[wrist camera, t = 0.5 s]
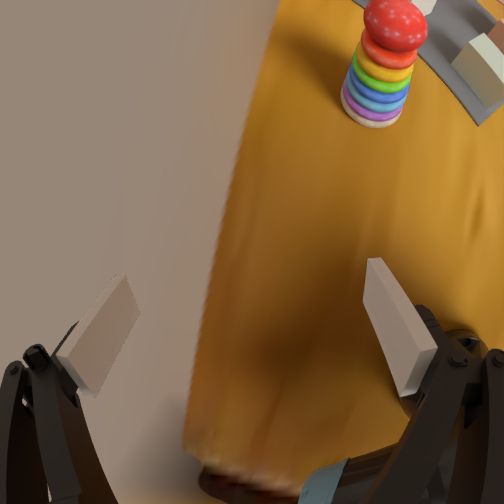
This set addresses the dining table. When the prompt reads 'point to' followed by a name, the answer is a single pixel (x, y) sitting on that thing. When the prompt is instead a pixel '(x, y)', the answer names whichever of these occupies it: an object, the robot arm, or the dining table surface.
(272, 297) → the dining table surface
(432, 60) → the charcoal mat
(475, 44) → the sage brick
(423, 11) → the cream brick
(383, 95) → the stacking toy
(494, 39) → the terracotta brick
